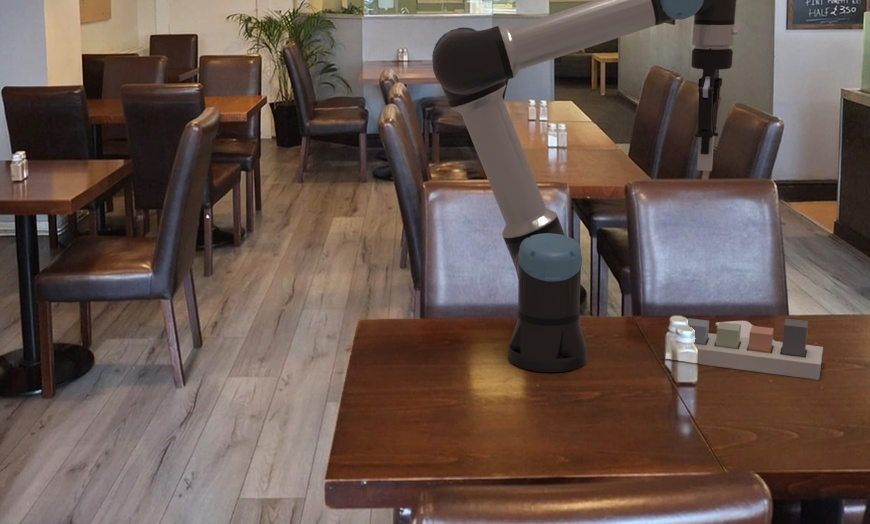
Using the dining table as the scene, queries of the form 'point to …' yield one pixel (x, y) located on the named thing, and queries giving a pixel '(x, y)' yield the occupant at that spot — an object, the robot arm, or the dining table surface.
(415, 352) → the dining table surface
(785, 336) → the key charcoal
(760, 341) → the key terracotta
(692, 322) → the key slate
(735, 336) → the key sage
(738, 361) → the grey block holder
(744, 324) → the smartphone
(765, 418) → the dining table surface
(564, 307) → the robot arm
